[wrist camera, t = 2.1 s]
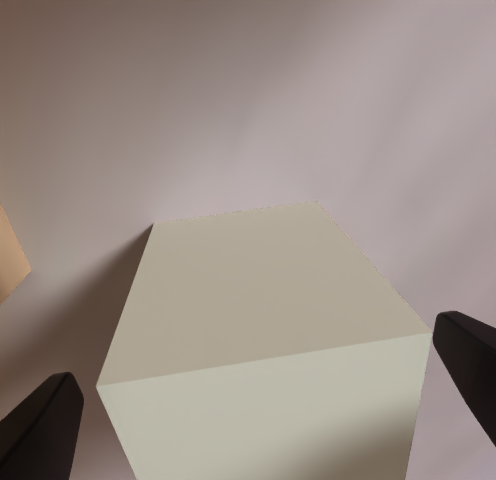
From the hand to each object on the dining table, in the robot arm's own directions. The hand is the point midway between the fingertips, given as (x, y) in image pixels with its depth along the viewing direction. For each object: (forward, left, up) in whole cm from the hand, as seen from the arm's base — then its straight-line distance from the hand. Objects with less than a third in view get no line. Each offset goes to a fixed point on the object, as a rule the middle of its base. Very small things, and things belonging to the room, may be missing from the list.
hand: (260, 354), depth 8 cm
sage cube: (0, 0, -4) cm, 4 cm away
